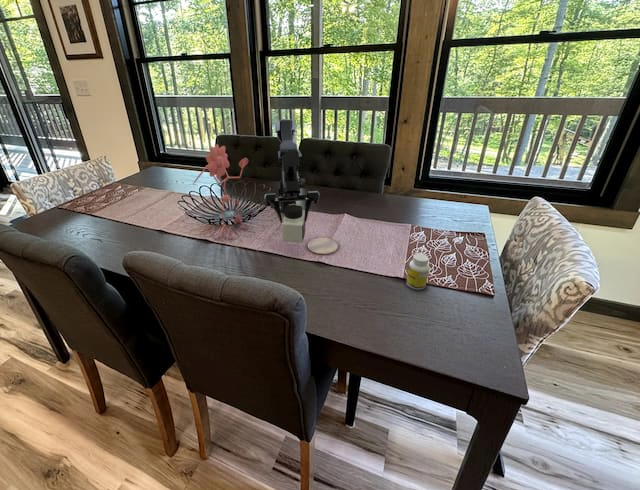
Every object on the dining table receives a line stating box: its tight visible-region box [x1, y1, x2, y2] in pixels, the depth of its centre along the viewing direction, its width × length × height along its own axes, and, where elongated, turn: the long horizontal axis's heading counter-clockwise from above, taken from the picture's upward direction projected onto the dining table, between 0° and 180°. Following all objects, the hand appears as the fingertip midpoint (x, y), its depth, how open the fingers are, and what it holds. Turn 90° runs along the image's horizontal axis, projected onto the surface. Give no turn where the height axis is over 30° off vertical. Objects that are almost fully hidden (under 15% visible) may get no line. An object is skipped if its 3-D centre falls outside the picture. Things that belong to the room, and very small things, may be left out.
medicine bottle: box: [281, 203, 306, 244], centre depth 106 cm, size 7×7×12 cm
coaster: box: [306, 237, 339, 255], centre depth 114 cm, size 11×11×1 cm
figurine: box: [193, 143, 249, 240], centre depth 120 cm, size 15×26×35 cm, turn 149°
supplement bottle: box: [405, 252, 431, 291], centre depth 90 cm, size 5×5×10 cm
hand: (293, 222), depth 105 cm, fingers closed on medicine bottle, 8 cm apart
